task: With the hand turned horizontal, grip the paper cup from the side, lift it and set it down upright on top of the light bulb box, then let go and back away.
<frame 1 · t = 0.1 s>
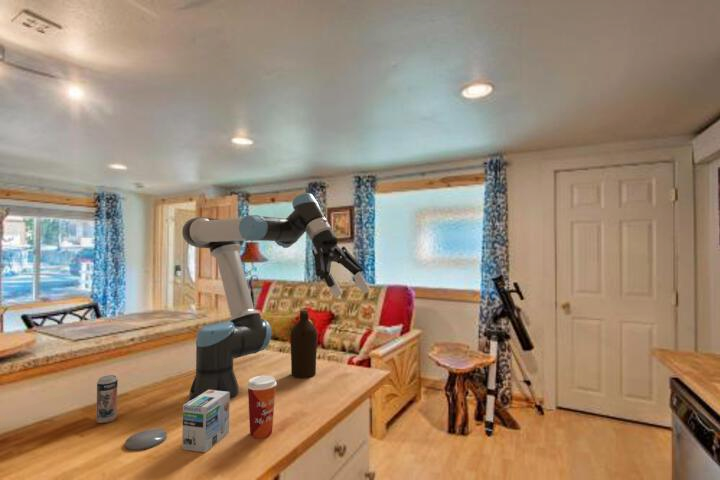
hand: (353, 293, 106), 36 cm above the table, tool tilted 35°, fingers open, 13 cm apart
light bulb box: (206, 441, 92), on the table
beer can: (106, 421, 103), on the table
olive oil: (303, 374, 143), on the table
slate coaster: (146, 440, 92), on the table
paper cup: (261, 433, 96), on the table
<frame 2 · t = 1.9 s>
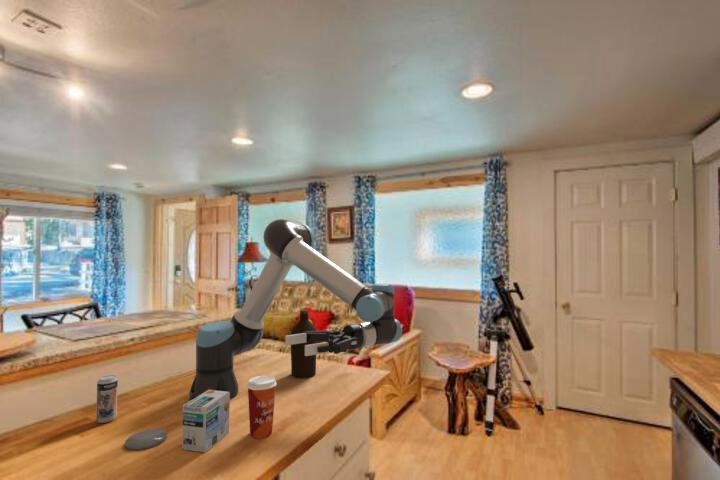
hand: (294, 345, 102), 22 cm above the table, tool horizontal, fingers open, 13 cm apart
nothing on the table moved.
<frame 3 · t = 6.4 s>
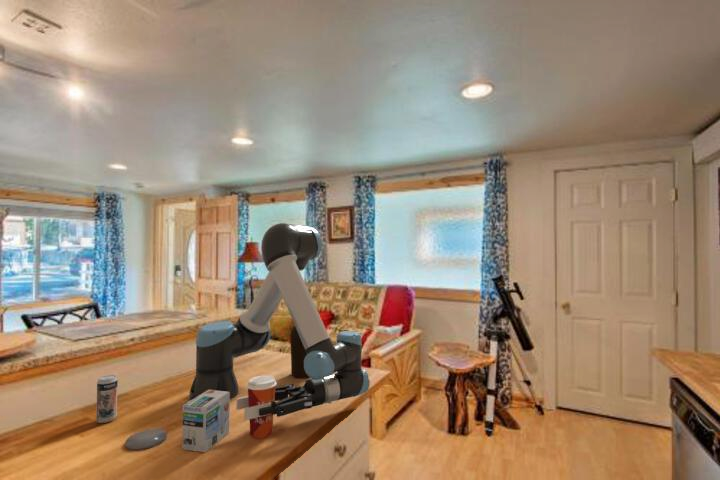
hand: (241, 409, 93), 8 cm above the table, tool horizontal, fingers closed on paper cup, 7 cm apart
paper cup: (261, 433, 96), on the table, touching gripper
everything else where it was.
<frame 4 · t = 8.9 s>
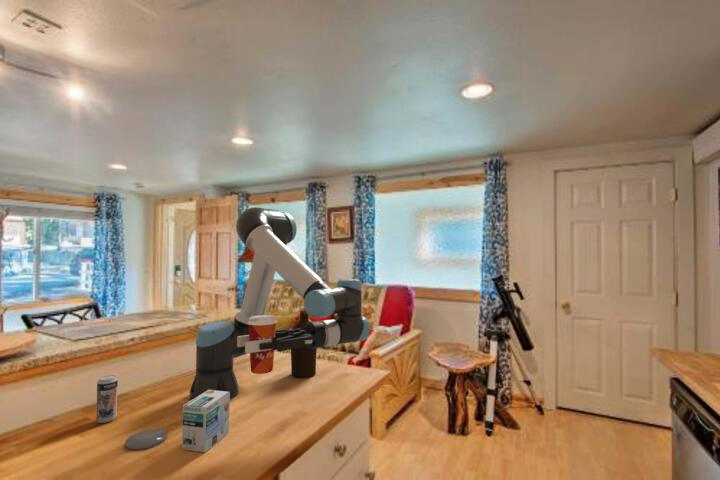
hand: (241, 344, 94), 24 cm above the table, tool horizontal, fingers closed on paper cup, 7 cm apart
paper cup: (262, 371, 97), point 16 cm above the table, touching gripper
everything else where it was.
when the fingers open (20 cm above the table, at t = 11.2 s): paper cup drops 2 cm, resting on light bulb box.
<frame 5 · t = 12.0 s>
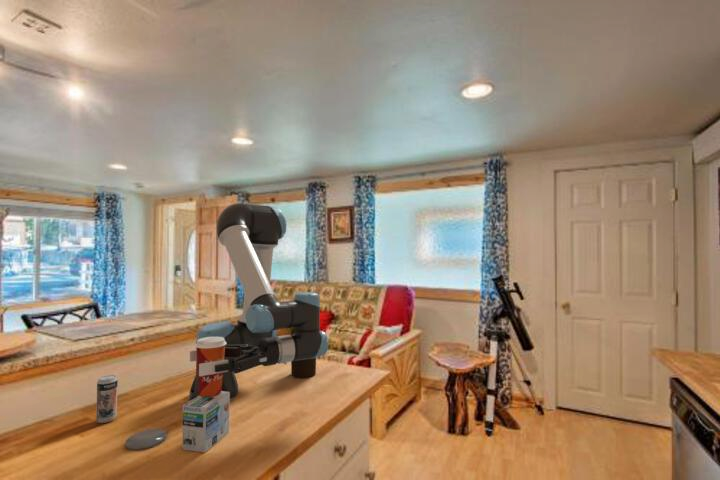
hand: (194, 362, 91), 20 cm above the table, tool horizontal, fingers open, 13 cm apart
light bulb box: (206, 441, 92), on the table, touching paper cup
paper cup: (210, 393, 96), point 11 cm above the table, touching light bulb box
everything else where it was.
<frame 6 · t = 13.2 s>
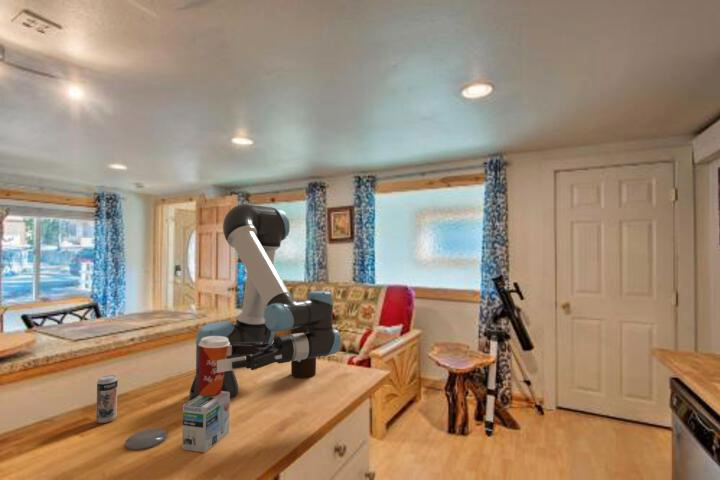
hand: (211, 359, 93), 20 cm above the table, tool horizontal, fingers open, 13 cm apart
paper cup: (210, 392, 96), point 11 cm above the table, touching gripper, light bulb box
everything else where it was.
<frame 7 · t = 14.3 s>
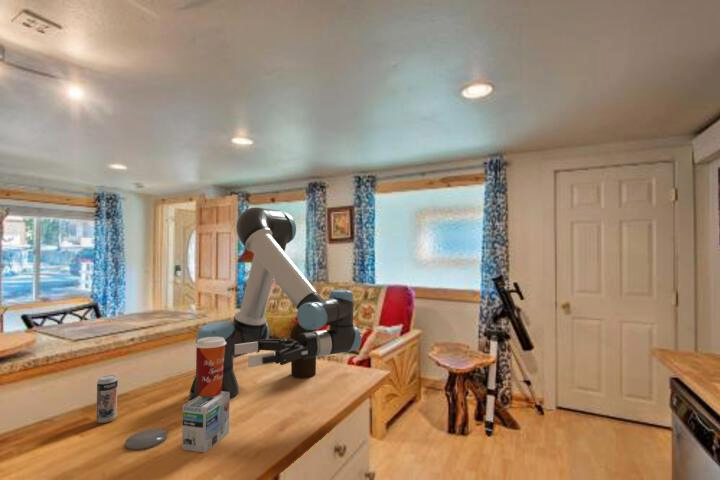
hand: (241, 355, 97), 20 cm above the table, tool horizontal, fingers open, 13 cm apart
paper cup: (210, 393, 95), point 11 cm above the table, touching light bulb box
everything else where it was.
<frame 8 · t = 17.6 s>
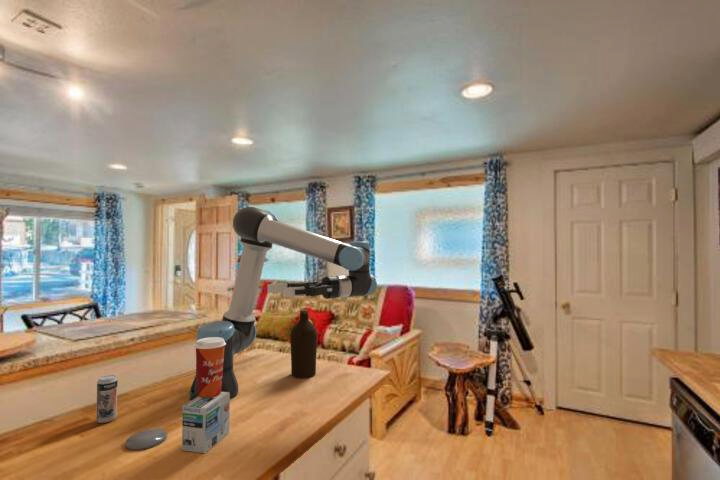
hand: (275, 290, 112), 36 cm above the table, tool horizontal, fingers open, 13 cm apart
nothing on the table moved.
at the end: paper cup inside the target area on the light bulb box (2.8 cm from its centre), point 10.8 cm above the light bulb box's base; paper cup tilted 0°; the gripper is holding nothing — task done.
